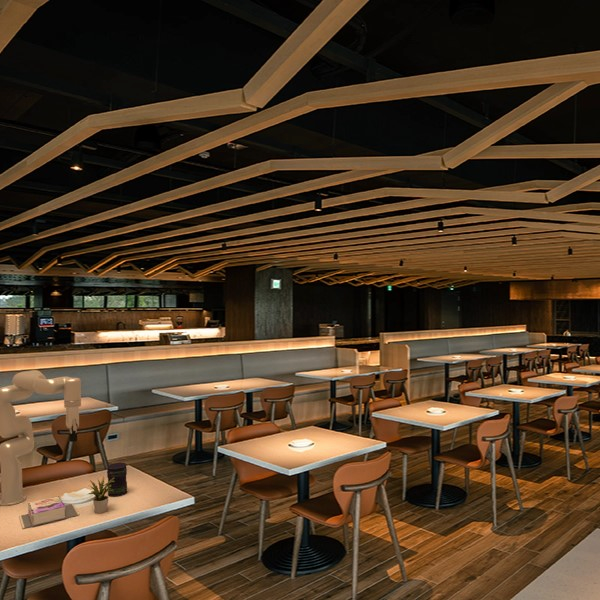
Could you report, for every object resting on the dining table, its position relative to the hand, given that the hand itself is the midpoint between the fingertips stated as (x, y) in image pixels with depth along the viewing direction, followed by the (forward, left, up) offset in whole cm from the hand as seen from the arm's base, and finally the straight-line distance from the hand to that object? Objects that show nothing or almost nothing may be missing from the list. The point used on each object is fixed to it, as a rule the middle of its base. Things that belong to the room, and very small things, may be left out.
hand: (73, 440), depth 245 cm
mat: (-2, -11, -34) cm, 36 cm away
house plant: (+9, +11, -35) cm, 37 cm away
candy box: (+7, -12, -31) cm, 34 cm away
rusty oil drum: (-11, +23, -35) cm, 43 cm away
